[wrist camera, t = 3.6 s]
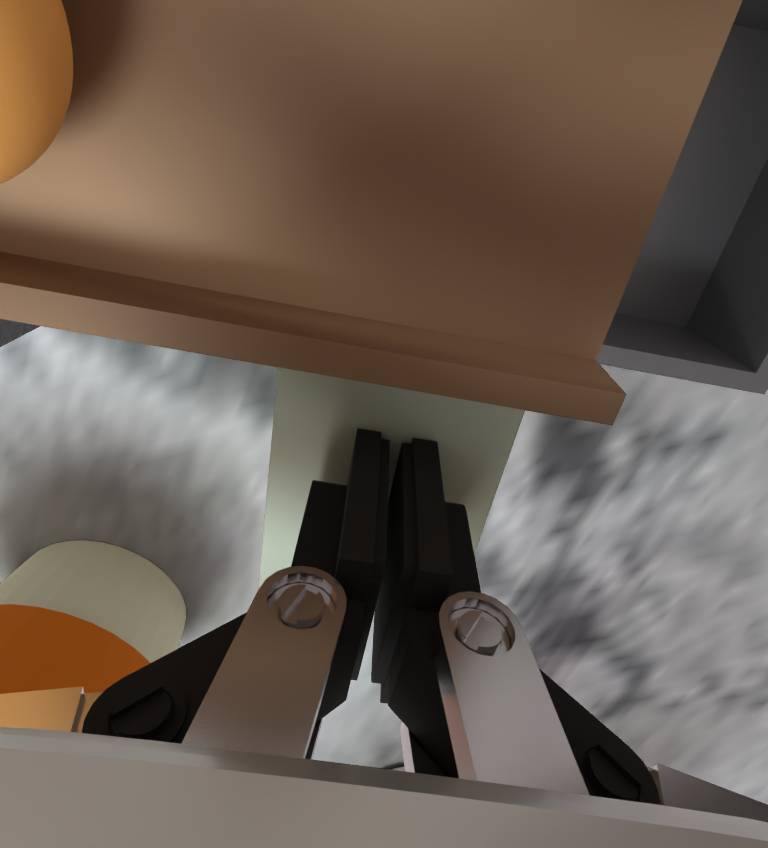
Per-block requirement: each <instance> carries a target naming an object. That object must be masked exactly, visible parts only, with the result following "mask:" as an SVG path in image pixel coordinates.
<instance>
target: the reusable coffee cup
mask: <svg viewBox="0 0 768 848" xmlns="http://www.w3.org/2000/svg"><path fill="white" fill-rule="evenodd" d="M186 617H187V616H186V605H185V603H184V600H183V597H182V594H181V593H180V591H179V590H178V588H177V586H176V585H175V583H174V582H173V581H172V580H171V579H170V578H169V577H168V576H167V575H166V574H165V573H164V571H162V570H161V569H160V568H158V567H157V566H156V565H154V564H153V563H152V562H150V561H149V560H147V559H145V558H143V557H142V556H140V555H138V554H136V553H134V552H132V551H129V550H127V549H124V548H122V547H119V546H115V545H111V544H107V543H103V542H97V541H87V540H75V541H64V542H59V543H55V544H51V545H49V546H47V547H45V548H42V549H40V550H39V551H37V552H36V553H35V554H34V555H32V556H31V557H30V558H29V559H27V560H26V561H25V562H24V563H23V564H22V565H21V566H19V567H18V568H17V569H16V570H15V571H14V572H13V573H11V574H10V575H9V576H8V577H7V578H6V579H4V580H3V581H2V582H1V583H0V694H5V693H16V692H27V691H38V690H49V689H60V688H71V687H83V689H84V693H95V692H104V691H105V689H107V688H108V687H110V686H111V685H113V684H114V683H116V682H117V681H119V680H120V679H121V678H123V677H125V676H127V675H129V674H131V673H133V672H135V671H137V670H139V669H140V668H142V667H144V666H146V665H148V664H150V663H152V662H154V661H156V660H158V659H159V658H161V657H163V656H165V655H167V654H169V653H171V652H173V651H175V650H177V649H178V648H179V645H180V641H181V638H182V634H183V630H184V627H185V622H186Z"/></svg>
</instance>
